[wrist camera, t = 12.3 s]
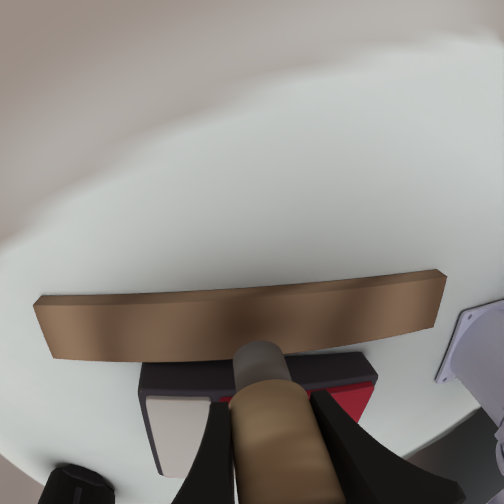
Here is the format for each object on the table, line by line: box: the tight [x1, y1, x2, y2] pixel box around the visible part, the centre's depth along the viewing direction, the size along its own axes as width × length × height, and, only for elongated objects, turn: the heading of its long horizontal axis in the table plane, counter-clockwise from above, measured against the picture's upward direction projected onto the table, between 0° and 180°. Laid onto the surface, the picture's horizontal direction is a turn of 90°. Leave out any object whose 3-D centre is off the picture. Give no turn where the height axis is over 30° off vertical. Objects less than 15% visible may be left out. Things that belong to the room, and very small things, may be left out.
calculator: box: [138, 352, 378, 478], centre depth 19 cm, size 11×4×15 cm
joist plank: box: [33, 269, 447, 362], centre depth 17 cm, size 26×4×1 cm, turn 91°
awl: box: [229, 340, 346, 504], centre depth 10 cm, size 3×3×8 cm
